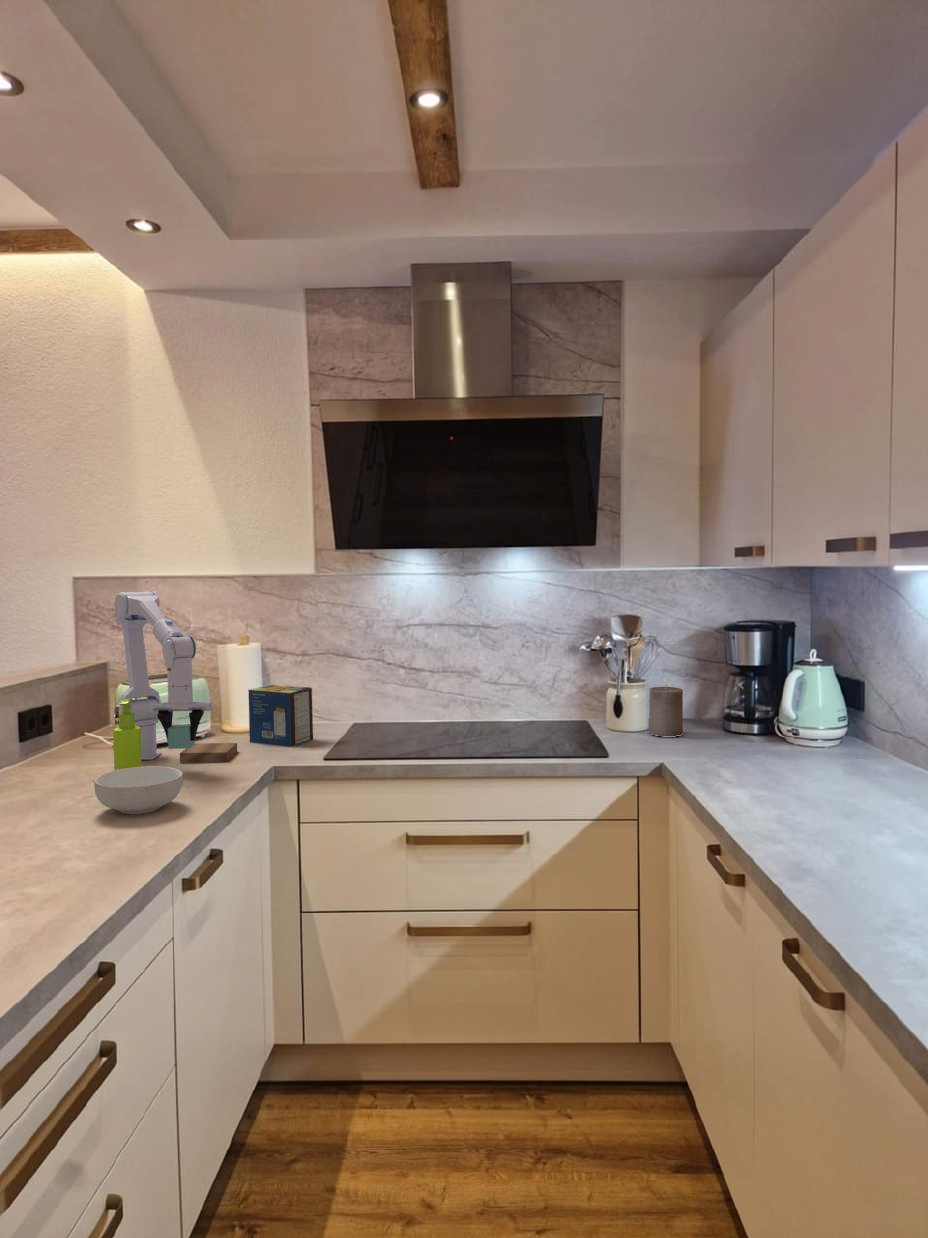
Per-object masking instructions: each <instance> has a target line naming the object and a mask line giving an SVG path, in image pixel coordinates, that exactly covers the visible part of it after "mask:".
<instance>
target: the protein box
mask: <svg viewBox="0 0 928 1238" xmlns="http://www.w3.org/2000/svg"><path fill="white" fill-rule="evenodd" d="M247 691H248V722H249V723H248V725H249V727H248V728H249V729H248V730H249V731H248V732H249V735H248V736H249V743H257V744H263V745H264V744H265V745H272V746H273V745H274V746H282V747H294V746H297V745H300V744H304V743H308V742H311V741H313V740H314V727H313V726H314V725H313V724H314V723H313V722H314V720H313V719H314V718H313V688H312V687H311V686H309V687H308V686H307V687H306V686H305V687H304V686H289V685H277V684H276V685H275V684H269V685H264V686H259V687H254V688H250V689H248V690H247Z"/></svg>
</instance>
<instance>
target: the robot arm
mask: <svg viewBox="0 0 928 1238" xmlns="http://www.w3.org/2000/svg"><path fill="white" fill-rule="evenodd" d="M160 602H161V601H160V597H159V595H158V594H157V593H156V591H154V590H153V591H151V590H150V591H131V592H130V591H127V592H126V591H125V592H124V591H120V592H118V593H117V595H116V597H115V598H114V604H113V605H114V615H115V621H116V624H117V625H119V626H121V627H122V635H123V643H124V652H125V653H124V654H125V660H126V670H127V680H128V688H127V689H126V690H125V691H124V692H123V693H122V694H121V695H120V696H119V699H118V700H119V703H120V700H121V699H128V698H131V701H130V711H132V712H134V715H135V726H139V727H141V753H142V760H143V761H144V760H145V761H146V760H148V761H149V760H154V759H156V757H158V756H160V755H161V754H162V753H163V752H162V751H160V750H159V751H158V749H157V724H159V722H160V724H161V726H162V727H163V730H164V733H165V736H166V741H167V742H168V728H169V727H171V726H172V725H173V715H174V714H173V713H174V712H189V713H188V717H189V724H190V727H191V733H190V737H191V741H194V740H196V739H197V738H196V737H197V732H198V729H199V725H200V722H201V721H202V718H203V716H204V713H205V712H211V711H212V710H213V709H212V707H213V706H212V704H213V703H212V702H211V701H194V700H193V698H194V697H193V696H194V694H193V691H194V690H193V689H194V688H193V660H194V659H195V656H196V654H197V644H196V641H195V638H194V637H193V636H192V635H187V634H184V633H183V632H182V631H181V630H180V628H179V626H177V624H176V623H175V622H174V620H172V619H171V618H170V619H169V618H166V617H165V615H164V613H163V612H162V610H161V608H160V607H161V605H160ZM147 624H150V625H151V626H152V634H153V636H154V637H155V639H156V640H157V641H158V643H159V644H160V645H161V647H162V648H161V652H162V656H163V659H164V667H165V668H166V669H167V670H166V671H167V672H166V673H167V702H162V701H161V697H160V693H159V691H157V690H156V689H154V688H153V687H152V686H150V682H149V674H148V673H149V672H148V664H147V655H146V648H145V646H146V645H145V639H144V638H145V637H144V631H143V629H144V627H145V625H147ZM140 698H141V699H140ZM121 712H122V705H119V706H118V714H119V713H121Z"/></svg>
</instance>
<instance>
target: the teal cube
mask: <svg viewBox="0 0 928 1238" xmlns="http://www.w3.org/2000/svg"><path fill="white" fill-rule="evenodd" d="M190 733H191V727H190V723H188V724H187V723H185V724H184V723H183V724H172V726H171V727H169V728H168V741H167V743H168V746H167V749H169V750H173V749H175V750H178V749H179V750H180V749H182V750H185V749H186V748H191V747H192V746H193V745H194V744H196V743H195V742H196V741H195V740H196V739H195V740H194V741H191V737H190Z"/></svg>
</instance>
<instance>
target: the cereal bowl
mask: <svg viewBox="0 0 928 1238" xmlns="http://www.w3.org/2000/svg"><path fill="white" fill-rule="evenodd" d="M183 777H184V774H183V771H181V769H178V768H175V767H169V766H160V765H159V766H157V765H155V766H154V765H152V766H151V765H150V766H149V765H147V766H143V765H142V767H133V768H125V769H120V770H115V771H114V770H112V771H109V772H105V773H102V774H101V775H99V776H97V777H96V778H95V779H94V783H93V785H94V792H95V796H96V798H97V800H98V802H100V804H101V805H102V806H105V807H106V808H109V809H112V810H116V811H118V812H119V813H121V814H125V815H140V814H141V815H142V814H147V813H148V814H149V813H152V812H155V811H157V810H159V809H160V808H161V807H163V806H165V805H167V804H169V803H170V802H172V801H173V800H175V799H176V798H177V797H178V795H179V794H180V793H181V789H182V787H183V781H184V780H183V779H184V778H183Z"/></svg>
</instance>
